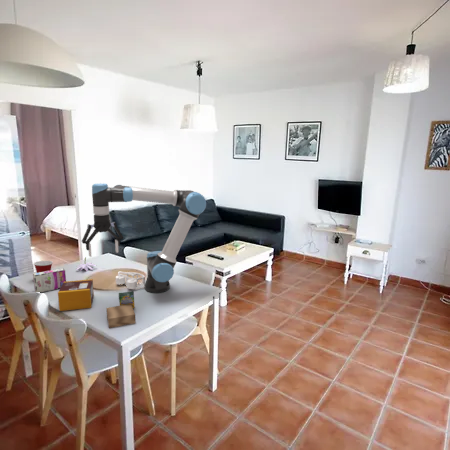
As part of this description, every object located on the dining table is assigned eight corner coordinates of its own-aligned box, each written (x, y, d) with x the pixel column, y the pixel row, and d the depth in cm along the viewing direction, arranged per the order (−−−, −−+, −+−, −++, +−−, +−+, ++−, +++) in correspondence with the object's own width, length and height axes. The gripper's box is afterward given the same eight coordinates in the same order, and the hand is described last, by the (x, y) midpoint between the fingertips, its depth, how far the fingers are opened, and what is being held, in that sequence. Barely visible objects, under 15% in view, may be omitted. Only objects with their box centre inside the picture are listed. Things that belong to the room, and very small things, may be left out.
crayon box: (133, 295, 161) (135, 310, 168) (133, 291, 163) (134, 305, 170) (118, 297, 159) (120, 312, 166) (118, 292, 161) (120, 307, 168)
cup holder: (112, 284, 199) (111, 273, 197) (126, 279, 207) (126, 269, 206) (133, 293, 187) (133, 281, 186) (147, 287, 196) (147, 276, 195)
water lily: (89, 261, 214) (89, 273, 216) (100, 254, 229) (100, 266, 231) (68, 260, 216) (69, 272, 218) (81, 253, 231) (82, 265, 232)
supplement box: (59, 311, 163) (64, 298, 178) (91, 308, 167) (94, 295, 182) (57, 292, 161) (63, 281, 175) (89, 289, 165) (93, 278, 180)
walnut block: (131, 312, 164) (131, 303, 163) (135, 323, 153) (135, 314, 152) (106, 317, 159) (106, 307, 158) (109, 328, 148) (108, 318, 147)
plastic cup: (57, 279, 205) (56, 261, 202) (40, 284, 196) (38, 266, 194) (49, 275, 211) (47, 258, 208) (32, 280, 202) (30, 262, 200)
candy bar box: (63, 267, 195) (32, 273, 184) (65, 269, 191) (34, 275, 181) (64, 285, 197) (34, 291, 186) (66, 287, 193) (35, 293, 183)
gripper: (123, 211, 172) (125, 248, 176) (73, 214, 158) (76, 255, 162) (128, 213, 166) (129, 252, 170) (76, 217, 152) (79, 259, 156)
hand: (103, 254), depth 166 cm, fingers open, 13 cm apart
